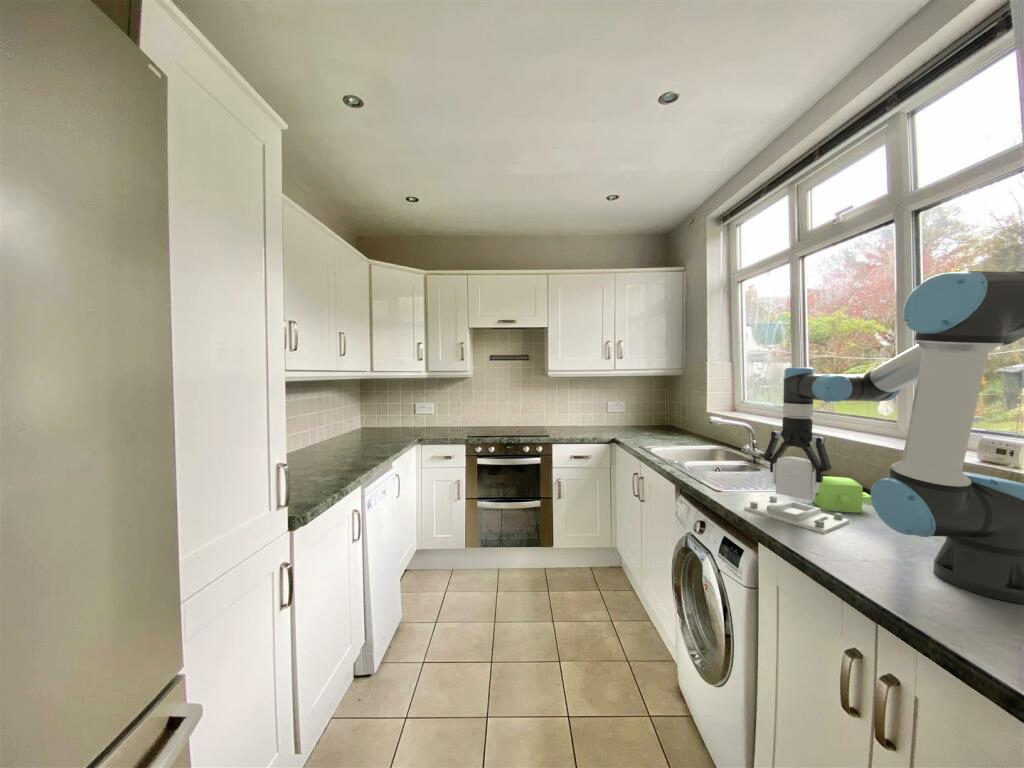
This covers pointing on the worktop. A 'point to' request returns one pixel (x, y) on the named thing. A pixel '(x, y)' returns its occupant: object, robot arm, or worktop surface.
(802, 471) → the photo printer
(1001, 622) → the worktop surface
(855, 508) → the gearbox
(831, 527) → the plate
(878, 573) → the worktop surface
